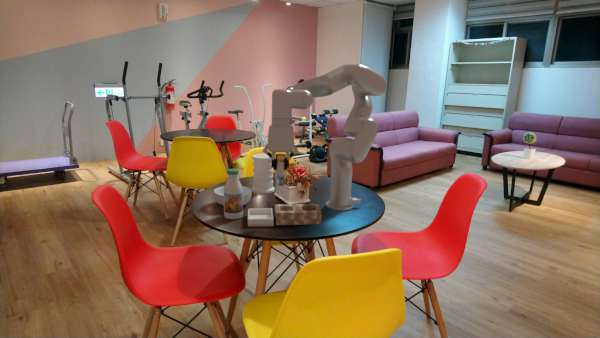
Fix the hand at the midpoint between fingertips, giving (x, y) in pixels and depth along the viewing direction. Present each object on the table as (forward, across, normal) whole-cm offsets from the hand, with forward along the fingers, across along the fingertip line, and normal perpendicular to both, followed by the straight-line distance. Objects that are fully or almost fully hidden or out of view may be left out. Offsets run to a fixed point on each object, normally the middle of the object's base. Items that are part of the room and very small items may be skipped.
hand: (280, 168), depth 145 cm
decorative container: (+22, +5, -40) cm, 46 cm away
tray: (+22, +7, 0) cm, 23 cm away
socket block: (+21, -8, 0) cm, 23 cm away
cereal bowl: (+22, +19, -20) cm, 35 cm away
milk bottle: (+22, +18, -6) cm, 29 cm away
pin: (+6, 0, 0) cm, 6 cm away
